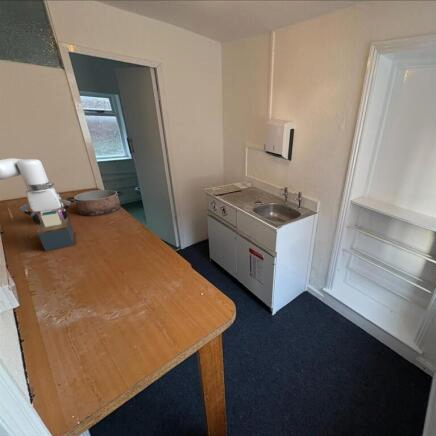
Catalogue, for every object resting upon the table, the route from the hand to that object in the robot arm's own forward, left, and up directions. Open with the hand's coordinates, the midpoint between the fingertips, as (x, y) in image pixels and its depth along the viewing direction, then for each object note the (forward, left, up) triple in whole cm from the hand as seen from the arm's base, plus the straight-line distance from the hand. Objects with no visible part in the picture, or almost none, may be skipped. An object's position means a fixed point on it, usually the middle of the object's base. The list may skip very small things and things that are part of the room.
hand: (52, 220), depth 113 cm
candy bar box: (-4, +33, -12) cm, 35 cm away
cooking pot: (+18, +41, -12) cm, 46 cm away
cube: (0, 0, -2) cm, 2 cm away
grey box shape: (0, 0, -12) cm, 12 cm away
